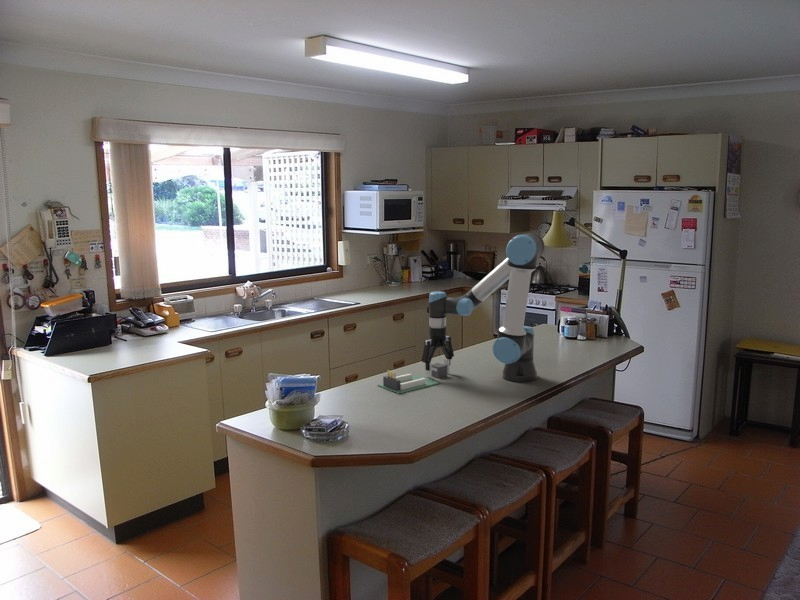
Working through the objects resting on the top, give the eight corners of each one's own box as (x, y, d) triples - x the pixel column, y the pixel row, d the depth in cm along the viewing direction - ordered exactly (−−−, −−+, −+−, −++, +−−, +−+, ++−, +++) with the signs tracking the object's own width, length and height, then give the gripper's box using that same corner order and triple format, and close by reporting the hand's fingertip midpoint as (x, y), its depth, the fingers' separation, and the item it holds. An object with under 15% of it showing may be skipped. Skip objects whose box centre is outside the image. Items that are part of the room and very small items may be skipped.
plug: (447, 376, 300) (446, 365, 299) (438, 378, 297) (438, 367, 296) (438, 373, 305) (438, 362, 304) (429, 375, 302) (429, 364, 301)
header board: (439, 383, 288) (439, 366, 287) (398, 394, 275) (398, 376, 274) (417, 376, 300) (417, 360, 299) (377, 385, 287) (377, 368, 285)
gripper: (450, 321, 307) (451, 368, 310) (412, 328, 293) (413, 377, 297) (462, 324, 301) (462, 372, 304) (423, 331, 287) (424, 381, 291)
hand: (438, 375), depth 301 cm, fingers open, 10 cm apart
